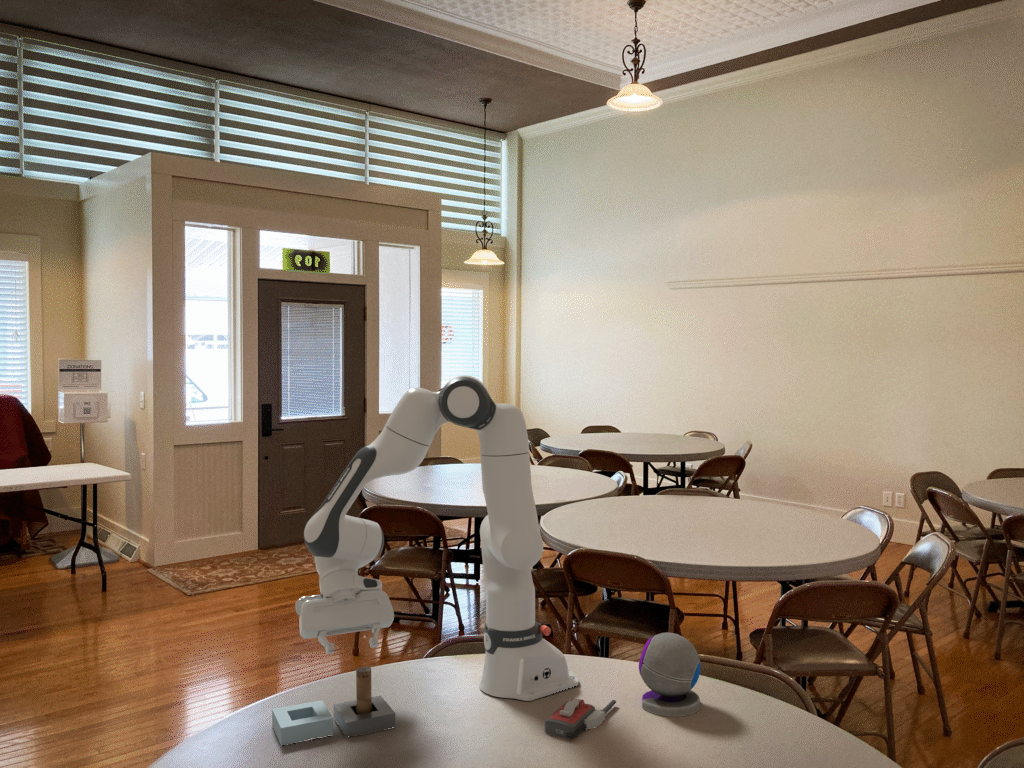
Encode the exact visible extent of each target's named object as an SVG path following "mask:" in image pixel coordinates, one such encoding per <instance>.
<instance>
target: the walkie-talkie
mask: <svg viewBox="0 0 1024 768" xmlns="http://www.w3.org/2000/svg"><path fill="white" fill-rule="evenodd" d="M616 703H617V700H616V699H612V700H611V701H610V702H609V703H608V704H607V705H606V706H605V707H604V708H603V709H600V710H597V709H596V707H595V706H594V705H592V704H589V703H585V700H584V699H581V698H577V697H572V698H571V699H570V700H569V701H565V703H564V704H562V705H561V706H560V707H559V708H557V709H556V710H555V711H554V712H553V713H552V714H550V715H549V716H548V717H547V718H546V719H545V720H544V733H545V734H546V735H549V734H550V736H554V735H555V736H554V737H558V736H559V738H563V737H564V738H563V739H567V738H569V739H568V740H573V739H572V738H574V739H575V737H576V736H578V735H580V734H581V733H582V732H583V731H584V730H583V729H590V728H594V727H597V726H598V727H599V726H600V725H601V724H602V723H604V722H605V721H606V714H607V713H608V712H609V711H610V710H611V709H612V708H613V707H614V706H615V704H616ZM604 720H605V721H604ZM603 721H604V722H603ZM601 722H602V723H601ZM600 723H601V724H600ZM599 724H600V725H599ZM598 727H597V728H598ZM594 729H595V728H594ZM582 730H583V731H582ZM590 730H591V729H590Z"/></svg>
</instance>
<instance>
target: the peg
mask: <svg viewBox="0 0 1024 768" xmlns="http://www.w3.org/2000/svg"><path fill="white" fill-rule="evenodd" d="M355 673H356V674H355V676H356V677H355V678H356V679H355V681H356V684H355V685H356V686H355V687H356V688H355V689H356V690H355V691H356V693H355V695H356V699H355V700H357V715H358V714H363V713H369V712H372V697H373V696H372V668H371V667H370V666H360V667H357V668H356V669H355Z"/></svg>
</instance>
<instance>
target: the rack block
mask: <svg viewBox="0 0 1024 768" xmlns="http://www.w3.org/2000/svg"><path fill="white" fill-rule="evenodd" d="M271 723H272V725H271V726H273V727H272V728H274V729H273V731H274V733H275V736H276V735H277V736H276V738H277V737H278V738H277V740H278V739H279V740H278V742H279V744H281V745H286V746H288V745H287V744H291V743H295V742H299V741H304V740H308V739H311V738H317V737H324V736H328V735H333V736H334V716H332V714H331V713H330V710H329V709H328V708H327V706H326V705H325V703H324V701H323V700H322V699H321V700H319V699H318V700H314V701H309V702H304V703H300V704H299V703H298V704H293V705H287V706H281V707H276V708H275V707H274V708H271ZM281 745H280V746H281ZM291 745H292V744H291Z"/></svg>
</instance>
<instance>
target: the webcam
mask: <svg viewBox="0 0 1024 768" xmlns="http://www.w3.org/2000/svg"><path fill="white" fill-rule="evenodd" d="M638 672H639V674H640V677H641V679H642V681H643V683H644V685H646V686H647V687H648V689H649V690H648V691H647V692H645V693H644V694H643V695H642V697H641V708H642V709H643V708H644V709H645V710H644V709H643V710H644V711H646V710H647V711H646V712H648V711H649V712H648V713H650V714H655V715H657V716H663V717H683V716H689V715H692V714H695V713H697V712H698V711H699V710H700V709H701V698H700V696H699V695H698V693H696V692H695V691H694V690H692V689H693V688H694V687H695V686H696V685H697V683H698V681H699V678H700V675H701V660H700V656H699V654H698V651H697V649H696V647H695V646H694V645H693V644H692V643H691V642H690V641H689V640H688V639H687V638H686V637H683V636H682V635H680V634H678V633H674V632H661V633H658V634H655V635H653V636H651V637H650V638H648V639H647V641H646V642H645V645H644V647H643V649H642V652H641V654H640V658H639V660H638Z"/></svg>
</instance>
